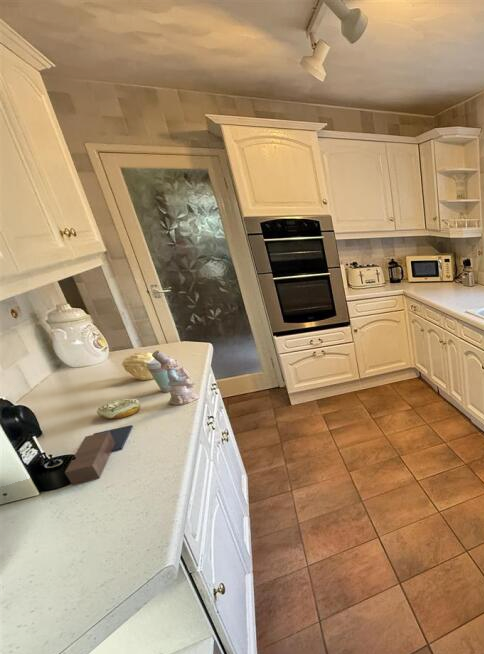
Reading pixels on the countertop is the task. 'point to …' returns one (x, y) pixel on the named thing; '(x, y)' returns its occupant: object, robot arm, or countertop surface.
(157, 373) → the coffee cup
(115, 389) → the countertop surface
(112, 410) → the decorated donut
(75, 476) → the walnut block
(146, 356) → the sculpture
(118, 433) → the rubber mat
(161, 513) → the countertop surface
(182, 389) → the figurine
